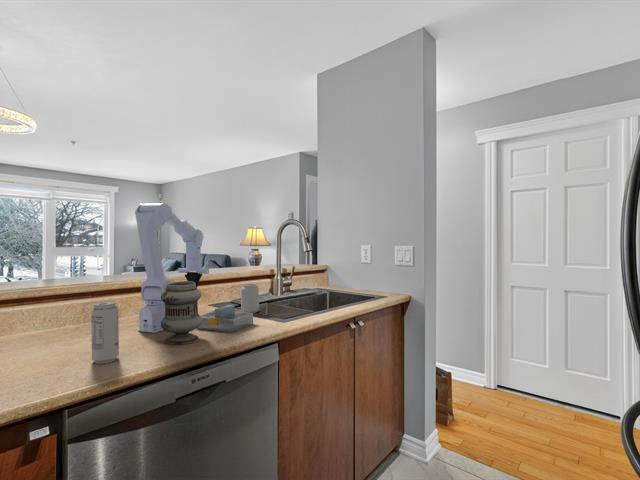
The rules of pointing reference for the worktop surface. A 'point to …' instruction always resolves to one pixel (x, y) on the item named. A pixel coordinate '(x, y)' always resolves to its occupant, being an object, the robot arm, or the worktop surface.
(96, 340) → the energy drink can
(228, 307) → the block
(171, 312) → the apothecary jar
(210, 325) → the rack
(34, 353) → the worktop surface
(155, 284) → the robot arm
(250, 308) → the can
